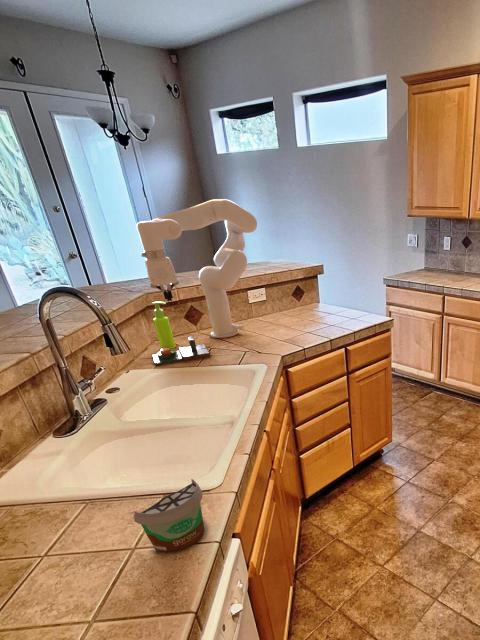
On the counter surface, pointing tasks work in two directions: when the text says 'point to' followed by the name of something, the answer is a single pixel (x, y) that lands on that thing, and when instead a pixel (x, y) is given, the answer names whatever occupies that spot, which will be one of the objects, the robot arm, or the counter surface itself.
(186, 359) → the panel
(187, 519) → the food container
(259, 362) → the counter surface
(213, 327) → the robot arm
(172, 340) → the soap dispenser
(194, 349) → the black block
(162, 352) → the button
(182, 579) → the counter surface
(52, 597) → the counter surface
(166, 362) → the button box
